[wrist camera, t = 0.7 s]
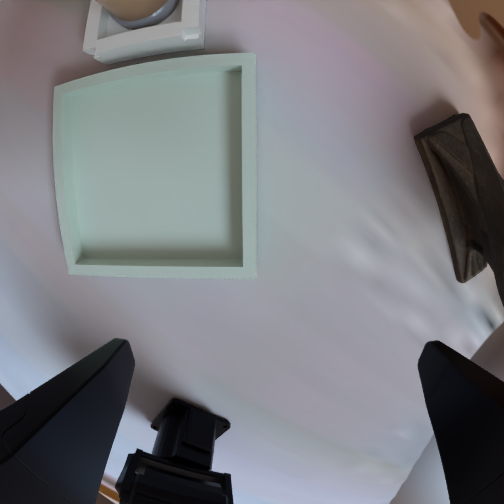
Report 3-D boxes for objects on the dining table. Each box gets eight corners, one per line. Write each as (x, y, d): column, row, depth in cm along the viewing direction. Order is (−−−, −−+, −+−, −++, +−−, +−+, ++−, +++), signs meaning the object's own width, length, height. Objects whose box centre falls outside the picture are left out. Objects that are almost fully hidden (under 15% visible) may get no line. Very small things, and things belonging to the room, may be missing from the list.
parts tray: (256, 266, 20) (256, 279, 18) (82, 264, 20) (68, 274, 18) (255, 62, 16) (255, 52, 14) (69, 90, 16) (54, 86, 14)
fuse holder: (207, 51, 15) (198, 33, 12) (104, 68, 15) (81, 57, 12) (211, -29, 13) (204, -53, 10) (115, -11, 13) (98, -28, 10)
